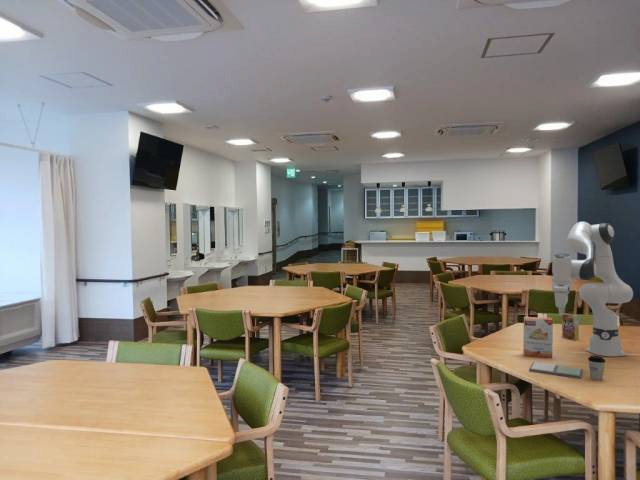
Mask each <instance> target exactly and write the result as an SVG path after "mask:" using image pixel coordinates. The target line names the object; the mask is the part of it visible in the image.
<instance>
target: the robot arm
mask: <svg viewBox="0 0 640 480" xmlns="http://www.w3.org/2000/svg"><path fill="white" fill-rule="evenodd" d="M614 238H615V230H614V228H613V226H612V225H611V224H610V223H607V222H601V223H599V224H598V223H597V224H590V223H589V222H587V221H579V222H577V223H575V224H574V225H573V226H572V227H571V229H570V231H569V232H568V234H567V238H566V246H567V247H568V248H569V249H570V250H571V251H573V252H575V253H577V254H578V253H579V254H582V255H585V256H586V258H585V259H572V256H571V254H568V253H556V254H554V255H553V259H552V263H551V264H552V266H551V272H552V277H551V278H552V279H551V281H552V282H551V286H552V287H551V289H552V292H554V302H555V307H556V308H558V316H560V317H562V316H563V314H565V313H566V305H567V304H568V301H569V294H570V291H573V279H574V280H584V281H591V280H593V279H594V278H595V277H597V278H599V279H600V280H602V281H603V282H590V283H589V282H588V283H584V284H582V285H580V287H579V290H578V295H579V297H580V298H581V300H582V301H584V303H586V304H587V305H588V306H589V307H590V309H591V311H592V314H593V315H592V316H593V326H592V335H590V336H589V346H588V347H587V348H585V352H589V353H592V354H594V355H596V356H601V357H603V356H604V357H622V356H623V357H625V356H627V353H626V352H625V351H623V344H622V343H623V342H622V339H621V338H620V337H619V333H620V332H619V328H618V314H617V313H616V312H614V311H613V310H611V309H609V308H608V307H606V306H607V305H606V304H625V303H629V302H630V301H631V300H632V299H633V298H634V297H633V296H634V291H633V288H632V287H631V286H630V285H629V284H627V283H625V282H624V281H623V280H622V279H621V278H620V277H619V276H618V274H617V271H616V268H615V264H614V257H613V253H612V249H611V245H610V244H611V243H612V241H613V240H614Z"/></svg>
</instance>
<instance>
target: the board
mask: <svg viewBox="0 0 640 480" xmlns="http://www.w3.org/2000/svg"><path fill="white" fill-rule="evenodd" d="M528 372H532V373H537V374H538V373H540V374H546V375H552V376H559V377H567V378H573V379H582V377H583V376H582V375H583V373H584V370H583V368H579V367H574V366H573V367H572V366H565V365H558V364H550V363H544V362H536V361H533V362H532V364H531V365H530V367H529V369H528Z"/></svg>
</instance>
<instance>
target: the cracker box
mask: <svg viewBox="0 0 640 480" xmlns="http://www.w3.org/2000/svg"><path fill="white" fill-rule="evenodd" d="M553 326H554V321H553V319H552V318H551V317H536V316H533V317H532V316H523V355H524V357H534V358H535V357H537V358H548V359H553V343H554V341H553V339H554V338H553V336H554V335H553V333H554V331H553V329H554V327H553Z"/></svg>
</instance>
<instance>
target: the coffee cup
mask: <svg viewBox="0 0 640 480" xmlns="http://www.w3.org/2000/svg"><path fill="white" fill-rule="evenodd" d="M587 360H588V361H587V362H588V367H589V375H590V379H592V380H595V381H602V380H603V376H604V371H605V363H606V360H605V359H604V358H603V356H601V355H590V356H589V357H588V358H587Z"/></svg>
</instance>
